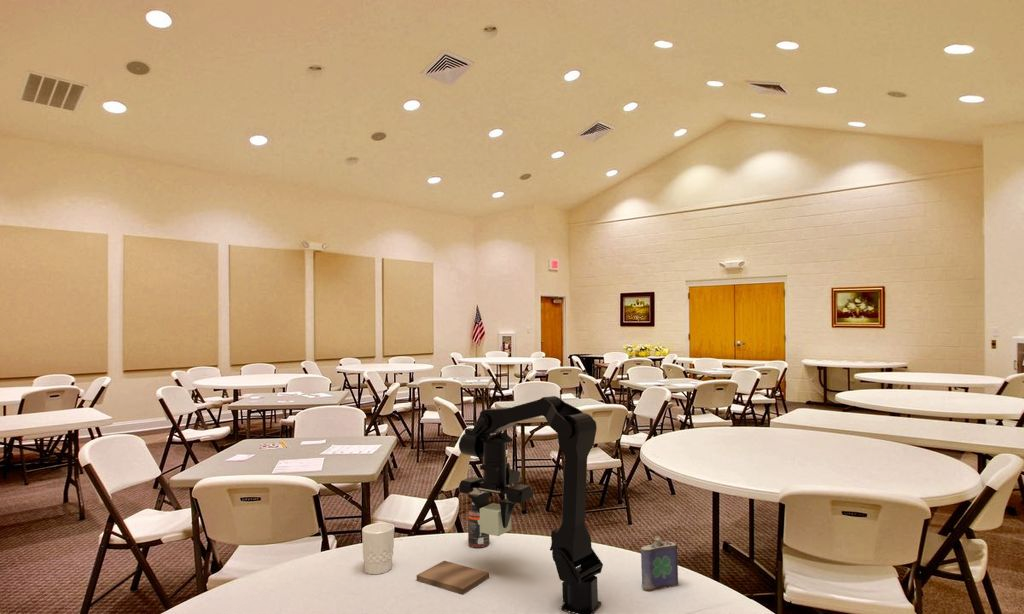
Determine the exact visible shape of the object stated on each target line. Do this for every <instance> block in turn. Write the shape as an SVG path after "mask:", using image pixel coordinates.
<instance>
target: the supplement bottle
mask: <svg viewBox="0 0 1024 614" xmlns="http://www.w3.org/2000/svg"><path fill="white" fill-rule="evenodd" d="M467 518H468V519H467V521H468V522H467V526H468V527H467V528H468V529H467V530H468V531H467V532H468V533H467V534H468V535H467V539H468V541H467V543H468V545H469V546H470V547H472V548H476V549H477V548H478V549H479V548H485V547H487V546H489V544H490V534H486V533H482V532H480V514H479V512H478V510H477V508H476V506H475V504H474V503H473V501H472V502H471V509H469V511H468V514H467Z"/></svg>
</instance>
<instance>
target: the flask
mask: <svg viewBox="0 0 1024 614" xmlns="http://www.w3.org/2000/svg"><path fill="white" fill-rule="evenodd" d="M652 538H653V539H654V542H653V544H649V545H643V546H641V547H640V556H641V557H640V558H641V559H640V562H641V566H640V567H641V588H642V590H643V591H645V592H647V591H649V592H654V591H656V590H663V589H665V588H672V587H678V586H679V572H678V571H679V564H678V560H679V559H678V545H677V543H675V542H673V541H668V540H666V541H661V539H660V538H661V537H660V536H659V535H655V536H654V537H653V536H652Z"/></svg>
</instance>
